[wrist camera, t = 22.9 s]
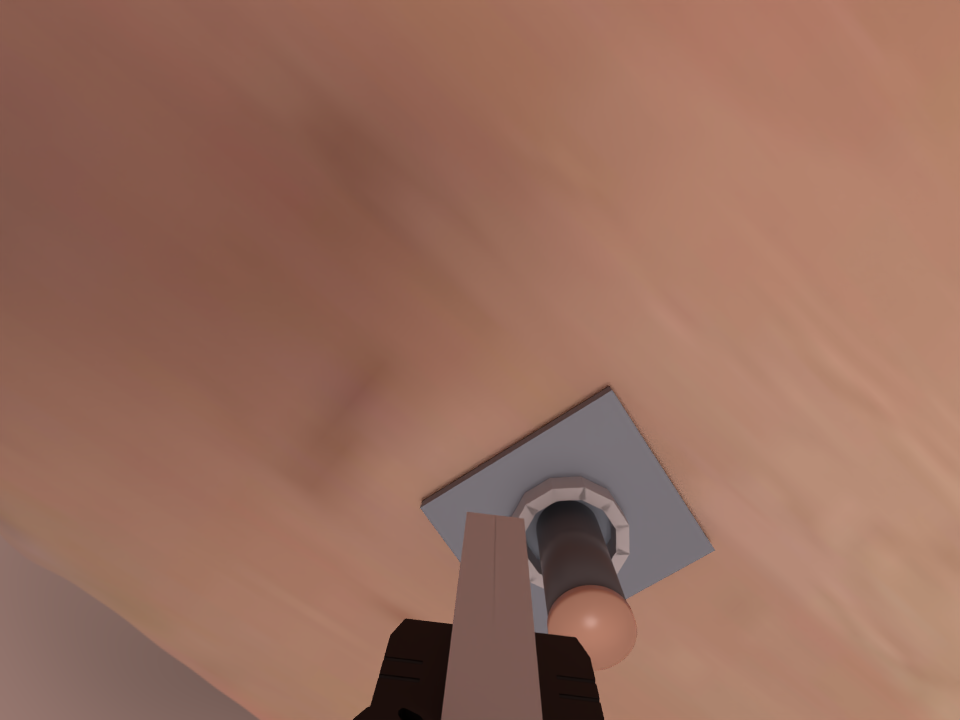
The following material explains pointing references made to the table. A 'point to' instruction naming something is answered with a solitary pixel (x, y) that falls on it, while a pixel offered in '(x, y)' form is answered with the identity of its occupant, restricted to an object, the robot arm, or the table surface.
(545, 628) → the board
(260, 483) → the table surface
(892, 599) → the table surface
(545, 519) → the canister
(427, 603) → the table surface
